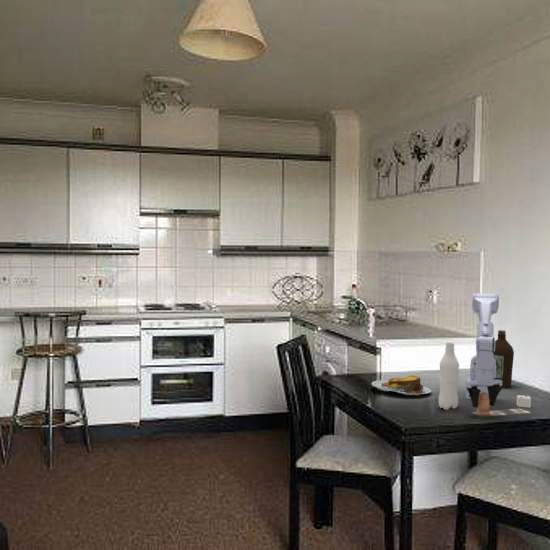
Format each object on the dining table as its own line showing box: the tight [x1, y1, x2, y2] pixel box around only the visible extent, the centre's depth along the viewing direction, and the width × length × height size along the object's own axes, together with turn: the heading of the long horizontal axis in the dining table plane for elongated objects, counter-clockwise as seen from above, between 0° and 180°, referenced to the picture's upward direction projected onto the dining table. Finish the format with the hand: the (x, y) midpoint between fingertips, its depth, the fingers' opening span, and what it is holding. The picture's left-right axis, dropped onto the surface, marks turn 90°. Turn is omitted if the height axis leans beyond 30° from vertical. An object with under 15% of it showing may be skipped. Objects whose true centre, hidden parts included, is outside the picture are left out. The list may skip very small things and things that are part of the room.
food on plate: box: [371, 375, 432, 396], centre depth 259 cm, size 25×25×7 cm
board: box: [472, 407, 532, 418], centre depth 224 cm, size 22×7×1 cm, turn 110°
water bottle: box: [438, 342, 460, 411], centre depth 231 cm, size 7×7×25 cm
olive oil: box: [492, 329, 515, 389], centre depth 274 cm, size 11×11×25 cm
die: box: [516, 395, 532, 408], centre depth 235 cm, size 4×4×5 cm
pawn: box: [476, 392, 491, 417], centre depth 221 cm, size 5×5×8 cm
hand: (483, 406), depth 221 cm, fingers open, 7 cm apart
